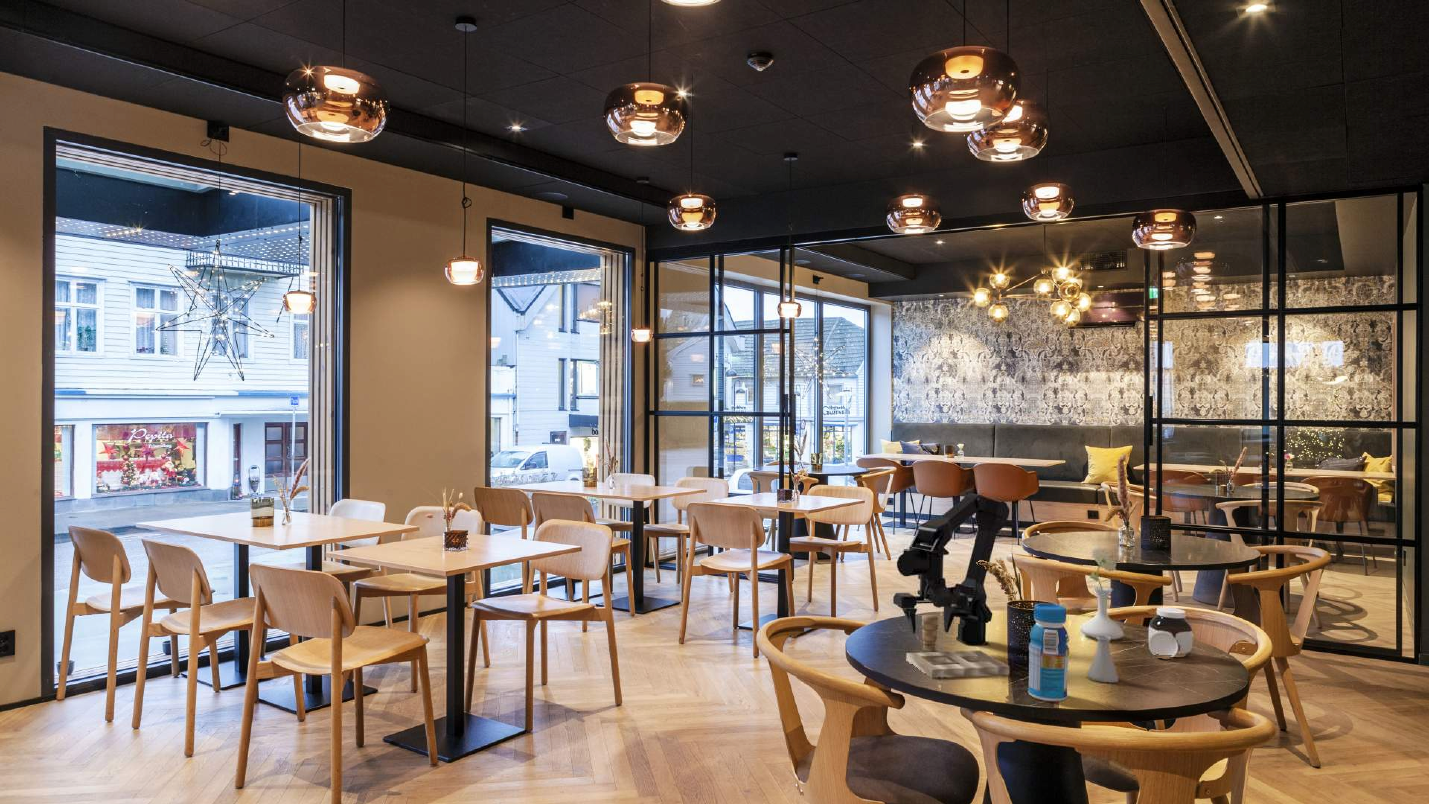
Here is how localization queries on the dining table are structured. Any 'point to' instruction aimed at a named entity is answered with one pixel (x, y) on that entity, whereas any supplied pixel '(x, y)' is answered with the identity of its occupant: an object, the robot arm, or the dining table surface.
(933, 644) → the peg
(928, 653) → the board
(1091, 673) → the flask
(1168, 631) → the spread jar
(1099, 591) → the flower in vase
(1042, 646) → the beverage bottle
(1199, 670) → the dining table surface
